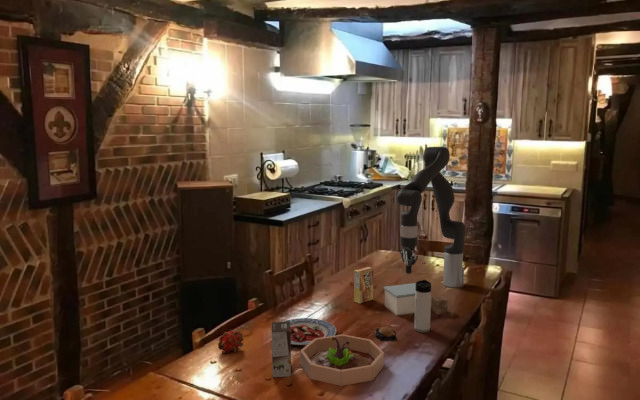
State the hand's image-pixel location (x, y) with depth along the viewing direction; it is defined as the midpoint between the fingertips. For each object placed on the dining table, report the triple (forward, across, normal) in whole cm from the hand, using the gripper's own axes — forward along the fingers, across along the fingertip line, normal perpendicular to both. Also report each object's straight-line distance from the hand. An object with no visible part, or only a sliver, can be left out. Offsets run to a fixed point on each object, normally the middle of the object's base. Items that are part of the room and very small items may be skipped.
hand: (408, 273), depth 236 cm
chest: (+17, +1, 0) cm, 17 cm away
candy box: (+17, +17, +14) cm, 28 cm away
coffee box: (+16, -37, +68) cm, 79 cm away
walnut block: (+17, -7, -12) cm, 22 cm away
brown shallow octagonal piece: (+16, -40, +47) cm, 64 cm away
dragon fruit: (+16, -16, +82) cm, 85 cm away
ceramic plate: (+17, -11, +52) cm, 56 cm away
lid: (+9, +2, 0) cm, 9 cm away
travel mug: (+17, -22, +5) cm, 28 cm away
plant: (+17, -41, +49) cm, 66 cm away
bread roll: (+17, -22, +22) cm, 36 cm away
